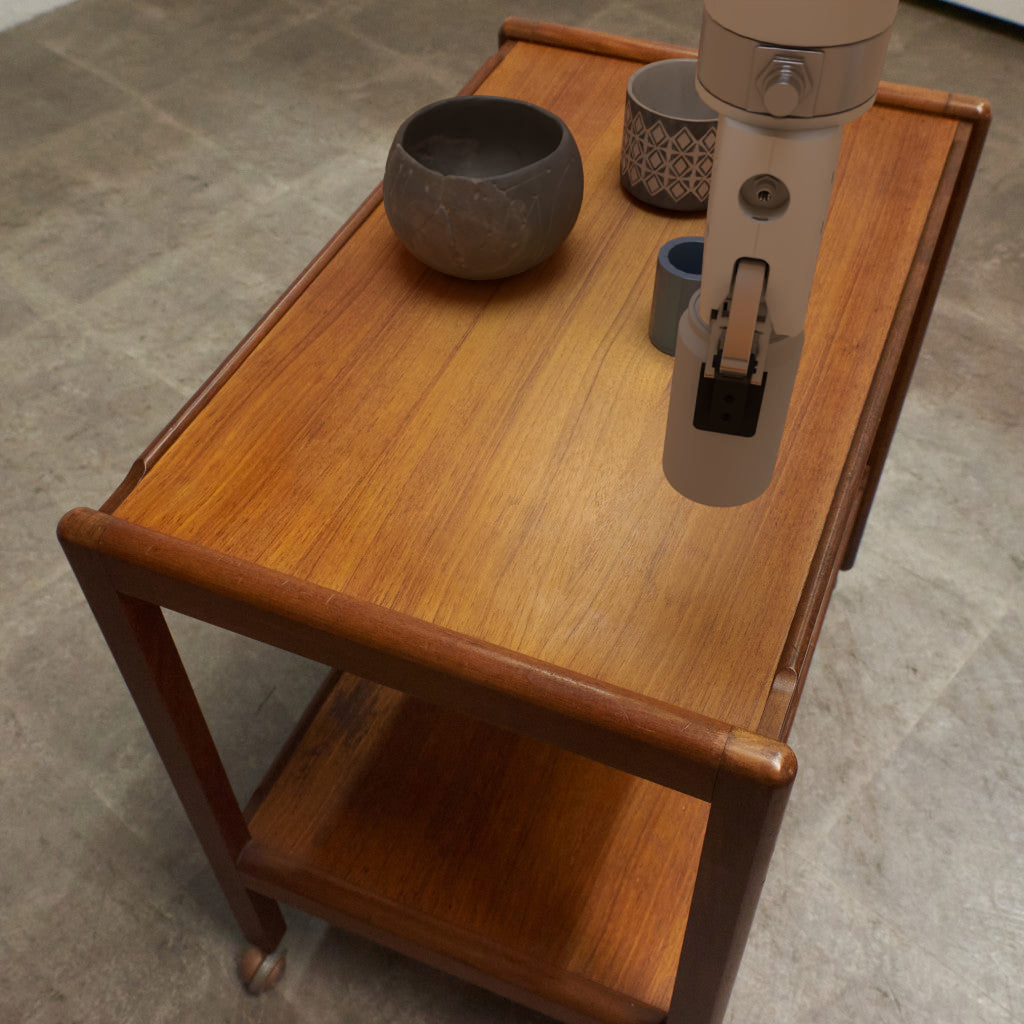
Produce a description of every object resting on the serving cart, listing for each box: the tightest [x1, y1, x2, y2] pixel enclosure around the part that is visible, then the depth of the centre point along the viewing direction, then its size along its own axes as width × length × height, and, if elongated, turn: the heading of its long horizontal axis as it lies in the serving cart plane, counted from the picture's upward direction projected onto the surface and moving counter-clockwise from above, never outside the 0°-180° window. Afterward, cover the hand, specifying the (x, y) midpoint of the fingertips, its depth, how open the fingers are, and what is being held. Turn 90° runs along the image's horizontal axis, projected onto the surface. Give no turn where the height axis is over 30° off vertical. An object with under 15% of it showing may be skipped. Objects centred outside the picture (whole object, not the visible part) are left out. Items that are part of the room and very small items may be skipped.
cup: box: [648, 235, 705, 357], centre depth 90 cm, size 6×6×8 cm
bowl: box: [382, 94, 585, 281], centre depth 96 cm, size 18×18×13 cm
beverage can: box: [661, 288, 806, 508], centre depth 58 cm, size 6×6×12 cm
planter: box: [618, 57, 719, 212], centre depth 105 cm, size 13×13×10 cm
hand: (732, 383), depth 57 cm, fingers closed on beverage can, 6 cm apart
